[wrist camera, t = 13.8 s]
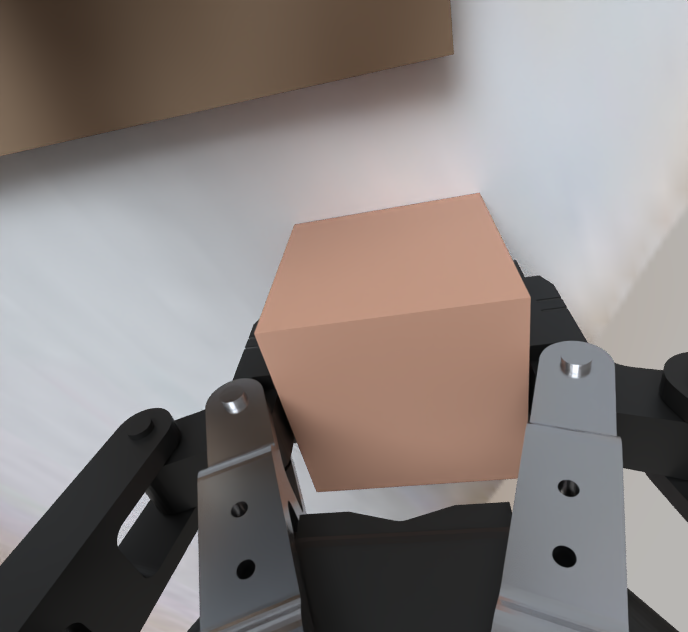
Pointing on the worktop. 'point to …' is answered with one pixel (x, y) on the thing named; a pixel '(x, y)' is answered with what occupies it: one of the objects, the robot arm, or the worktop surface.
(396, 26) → the walnut board
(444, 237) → the terracotta block
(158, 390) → the worktop surface
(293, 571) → the robot arm
